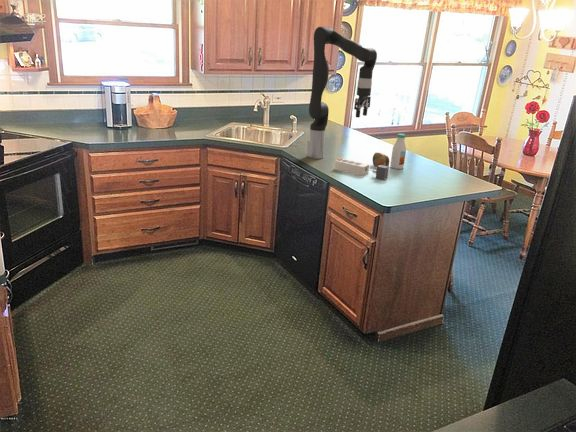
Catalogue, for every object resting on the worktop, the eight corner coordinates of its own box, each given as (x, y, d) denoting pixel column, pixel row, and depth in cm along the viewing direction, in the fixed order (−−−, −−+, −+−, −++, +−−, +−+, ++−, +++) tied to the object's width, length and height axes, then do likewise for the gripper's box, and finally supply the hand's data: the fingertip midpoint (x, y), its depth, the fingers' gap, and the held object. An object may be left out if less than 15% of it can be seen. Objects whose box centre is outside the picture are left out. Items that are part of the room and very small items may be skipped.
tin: (371, 164, 299) (373, 150, 296) (376, 164, 300) (377, 150, 297) (384, 171, 286) (386, 157, 283) (389, 171, 287) (391, 157, 284)
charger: (371, 176, 274) (372, 165, 272) (374, 175, 278) (376, 163, 275) (383, 179, 270) (385, 168, 268) (387, 178, 274) (388, 166, 271)
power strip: (334, 169, 285) (335, 159, 283) (340, 166, 290) (341, 157, 288) (362, 175, 276) (363, 166, 274) (368, 173, 281) (369, 163, 279)
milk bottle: (393, 169, 291) (398, 135, 284) (387, 165, 298) (392, 132, 291) (405, 169, 293) (410, 135, 286) (399, 165, 300) (404, 132, 293)
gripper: (364, 84, 279) (361, 114, 285) (352, 86, 268) (349, 116, 274) (376, 86, 275) (372, 115, 281) (364, 88, 264) (361, 119, 270)
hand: (361, 116), depth 278 cm, fingers open, 8 cm apart
